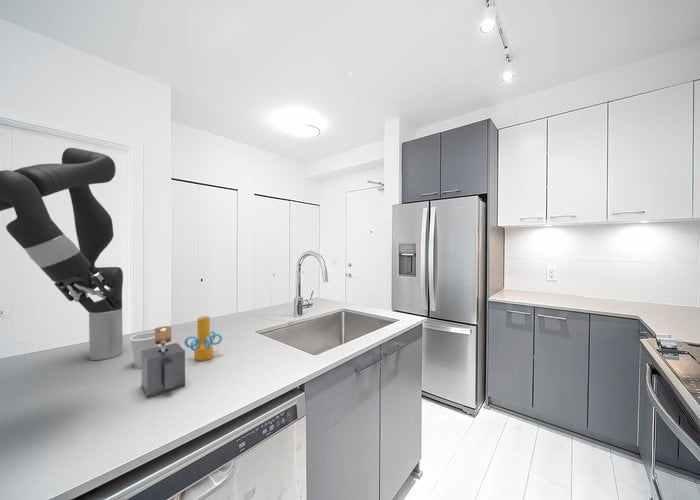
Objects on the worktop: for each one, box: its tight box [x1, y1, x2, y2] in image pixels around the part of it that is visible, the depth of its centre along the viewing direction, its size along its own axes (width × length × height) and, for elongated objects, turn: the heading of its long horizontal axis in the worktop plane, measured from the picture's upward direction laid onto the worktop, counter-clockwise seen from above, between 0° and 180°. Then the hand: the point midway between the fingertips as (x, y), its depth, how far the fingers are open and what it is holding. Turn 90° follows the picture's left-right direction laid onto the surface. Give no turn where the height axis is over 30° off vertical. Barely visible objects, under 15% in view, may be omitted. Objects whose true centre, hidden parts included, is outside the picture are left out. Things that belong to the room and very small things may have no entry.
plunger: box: [154, 325, 172, 352], centre depth 79 cm, size 7×7×15 cm
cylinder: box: [184, 315, 223, 362], centre depth 98 cm, size 12×10×15 cm
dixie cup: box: [129, 331, 159, 369], centre depth 93 cm, size 8×8×10 cm
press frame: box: [141, 342, 186, 400], centre depth 78 cm, size 12×9×11 cm
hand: (105, 308), depth 71 cm, fingers open, 8 cm apart
